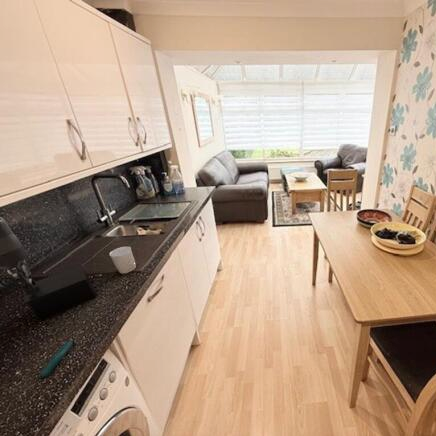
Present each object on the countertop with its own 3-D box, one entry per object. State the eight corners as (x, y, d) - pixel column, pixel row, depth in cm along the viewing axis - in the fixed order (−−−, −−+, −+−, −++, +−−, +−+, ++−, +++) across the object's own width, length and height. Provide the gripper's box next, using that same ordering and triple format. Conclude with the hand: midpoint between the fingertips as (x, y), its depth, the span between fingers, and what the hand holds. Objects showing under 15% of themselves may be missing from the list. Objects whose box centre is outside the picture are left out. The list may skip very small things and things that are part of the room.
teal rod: (48, 378, 65) (45, 373, 64) (40, 379, 65) (36, 374, 64) (75, 344, 74) (73, 339, 74) (68, 344, 74) (65, 340, 73)
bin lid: (25, 304, 79) (16, 293, 77) (26, 286, 87) (19, 275, 85) (86, 280, 89) (80, 269, 87) (82, 266, 97) (77, 256, 95)
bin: (41, 322, 83) (28, 303, 79) (41, 303, 91) (29, 285, 88) (96, 298, 93) (86, 280, 89) (91, 283, 101) (83, 266, 97)
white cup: (139, 269, 109) (132, 250, 104) (119, 277, 104) (111, 258, 99) (135, 262, 114) (128, 244, 110) (116, 269, 109) (107, 251, 105)
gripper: (-10, 245, 79) (18, 285, 86) (-17, 262, 69) (14, 306, 76) (22, 236, 83) (46, 275, 91) (19, 252, 74) (46, 293, 81)
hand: (31, 289), depth 84 cm, fingers closed on bin lid, 5 cm apart
